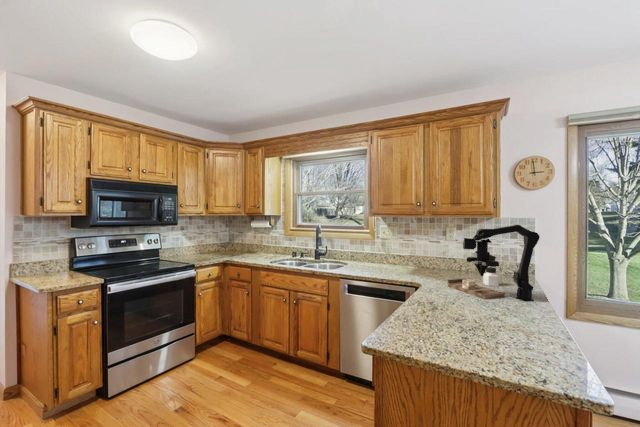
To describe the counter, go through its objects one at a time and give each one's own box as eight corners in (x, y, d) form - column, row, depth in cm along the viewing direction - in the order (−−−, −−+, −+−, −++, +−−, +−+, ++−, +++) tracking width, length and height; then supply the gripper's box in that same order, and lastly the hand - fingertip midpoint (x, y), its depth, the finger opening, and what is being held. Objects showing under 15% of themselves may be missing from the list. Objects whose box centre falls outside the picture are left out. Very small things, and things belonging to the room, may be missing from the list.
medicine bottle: (498, 286, 202) (499, 268, 202) (488, 286, 202) (488, 268, 202) (493, 283, 209) (493, 266, 209) (482, 283, 209) (483, 266, 209)
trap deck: (504, 297, 176) (504, 289, 176) (484, 299, 172) (484, 291, 172) (465, 284, 205) (465, 278, 205) (447, 286, 200) (447, 279, 200)
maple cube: (475, 289, 184) (475, 281, 184) (468, 289, 183) (468, 281, 183) (468, 287, 189) (468, 279, 189) (462, 287, 188) (462, 279, 188)
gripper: (506, 251, 172) (506, 278, 172) (480, 247, 190) (479, 272, 190) (491, 252, 169) (491, 279, 169) (466, 248, 186) (465, 273, 186)
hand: (481, 275), depth 179 cm, fingers closed
